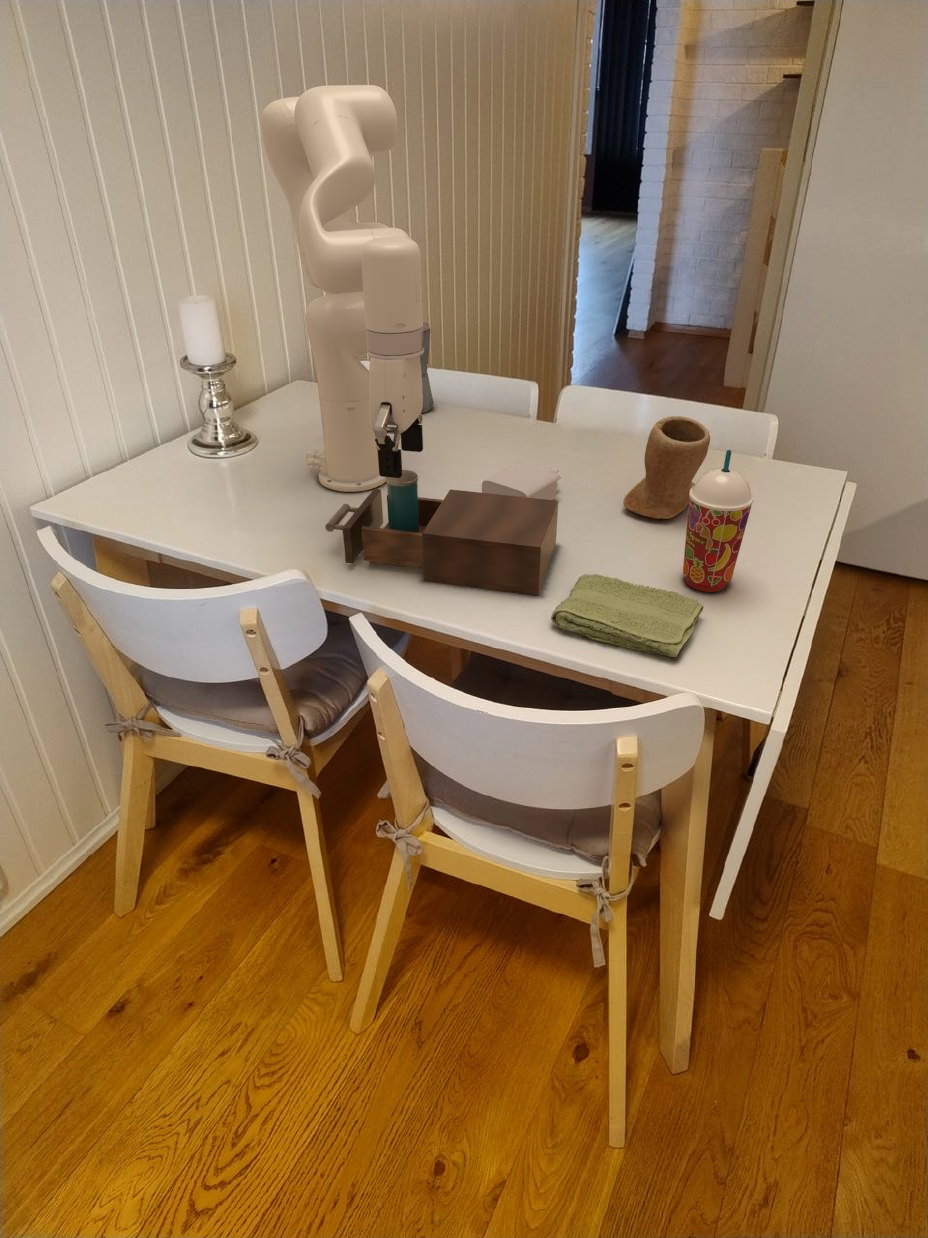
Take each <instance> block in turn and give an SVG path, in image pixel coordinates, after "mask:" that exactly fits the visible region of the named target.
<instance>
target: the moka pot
mask: <svg viewBox="0 0 928 1238" xmlns="http://www.w3.org/2000/svg"><path fill="white" fill-rule="evenodd" d="M423 335H424V353H423V354H422V355H420V363H421V373H422V388H423V408H422V412H421V414H424V413H427V412H430V411H431V410H432V409H433V407H434V405H435V403H434V398H433V394H432V393H433V392H432V387H431V382H430V378H429V374H428V365H429V359H430V358H429V357H430V345H431V344H430V343H431V327H430V324H429V323H428V322H424V321H423Z"/></svg>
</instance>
